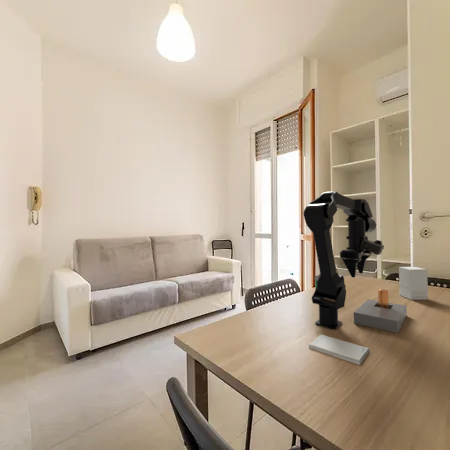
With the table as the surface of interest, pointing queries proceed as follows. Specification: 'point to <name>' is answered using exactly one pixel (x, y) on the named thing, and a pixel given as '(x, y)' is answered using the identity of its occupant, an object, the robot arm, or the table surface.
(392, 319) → the grey block with hole
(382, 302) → the pin
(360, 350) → the hard drive
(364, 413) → the table surface
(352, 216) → the robot arm
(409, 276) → the supplement box
